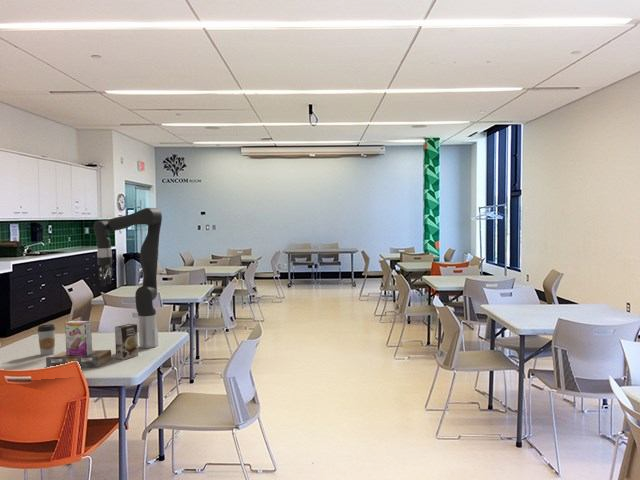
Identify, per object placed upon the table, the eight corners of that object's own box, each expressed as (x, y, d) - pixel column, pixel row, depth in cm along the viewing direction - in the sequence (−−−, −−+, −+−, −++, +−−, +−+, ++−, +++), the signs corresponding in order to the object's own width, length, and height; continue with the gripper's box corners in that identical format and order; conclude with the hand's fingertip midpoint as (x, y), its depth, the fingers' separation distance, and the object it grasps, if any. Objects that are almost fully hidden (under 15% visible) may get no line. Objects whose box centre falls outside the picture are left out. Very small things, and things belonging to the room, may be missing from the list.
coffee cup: (38, 356, 275) (37, 328, 275) (38, 353, 283) (37, 325, 282) (56, 354, 279) (55, 326, 279) (56, 351, 287) (54, 323, 286)
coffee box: (124, 360, 263) (122, 327, 263) (115, 358, 267) (114, 326, 266) (139, 355, 271) (137, 324, 270) (130, 354, 275) (129, 323, 274)
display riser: (111, 357, 269) (110, 346, 269) (97, 367, 251) (97, 355, 251) (63, 359, 268) (62, 348, 268) (46, 369, 251) (45, 357, 251)
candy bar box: (65, 356, 258) (64, 322, 257) (72, 353, 263) (70, 320, 262) (86, 356, 256) (85, 322, 255) (93, 354, 261) (91, 320, 260)
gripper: (102, 255, 306) (104, 283, 306) (92, 257, 291) (94, 287, 292) (116, 255, 306) (117, 283, 306) (106, 256, 291) (108, 286, 292)
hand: (106, 285), depth 299 cm, fingers open, 8 cm apart
